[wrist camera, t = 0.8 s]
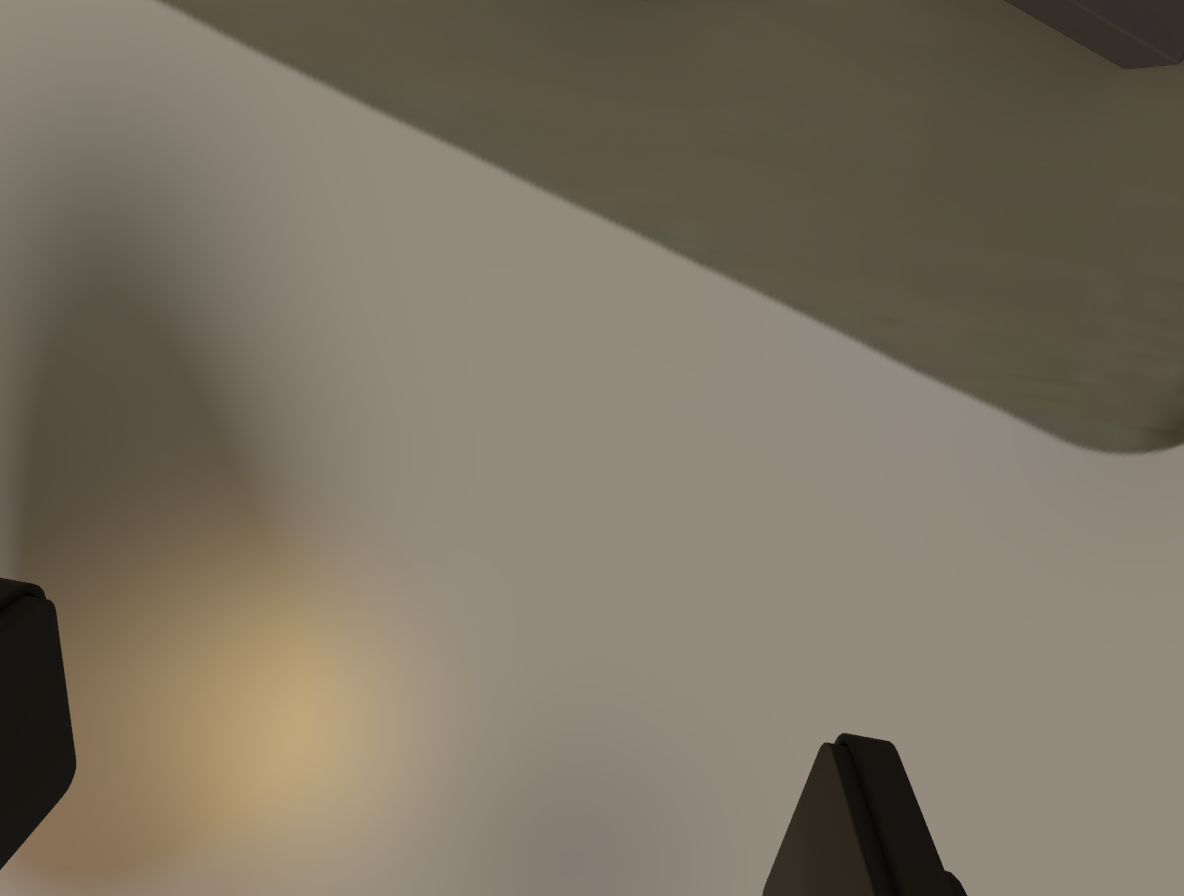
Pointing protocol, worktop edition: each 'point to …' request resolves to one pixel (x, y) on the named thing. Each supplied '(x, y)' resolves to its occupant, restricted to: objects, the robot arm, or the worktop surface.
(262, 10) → the worktop surface
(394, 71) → the worktop surface
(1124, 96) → the worktop surface
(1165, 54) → the tongue pad
